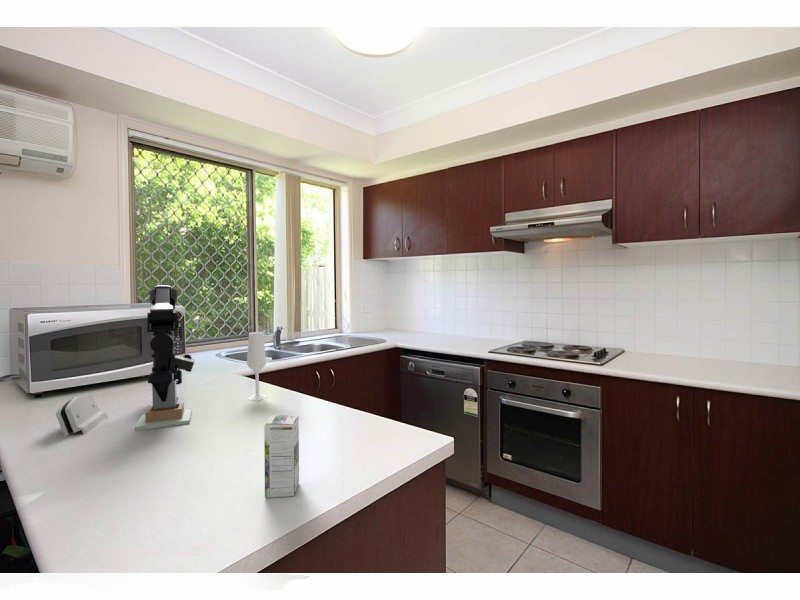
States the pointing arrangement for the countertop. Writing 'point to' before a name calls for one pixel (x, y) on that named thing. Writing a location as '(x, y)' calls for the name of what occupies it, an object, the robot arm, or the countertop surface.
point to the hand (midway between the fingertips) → (164, 399)
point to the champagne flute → (256, 359)
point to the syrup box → (281, 456)
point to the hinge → (79, 414)
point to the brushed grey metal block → (170, 401)
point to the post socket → (164, 417)
